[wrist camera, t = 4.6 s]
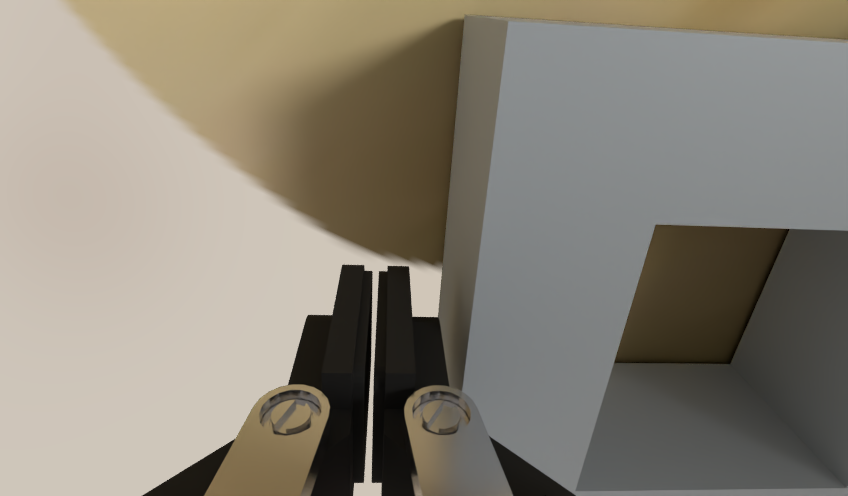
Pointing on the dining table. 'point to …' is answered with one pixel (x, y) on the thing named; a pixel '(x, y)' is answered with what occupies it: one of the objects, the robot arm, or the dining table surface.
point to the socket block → (628, 245)
